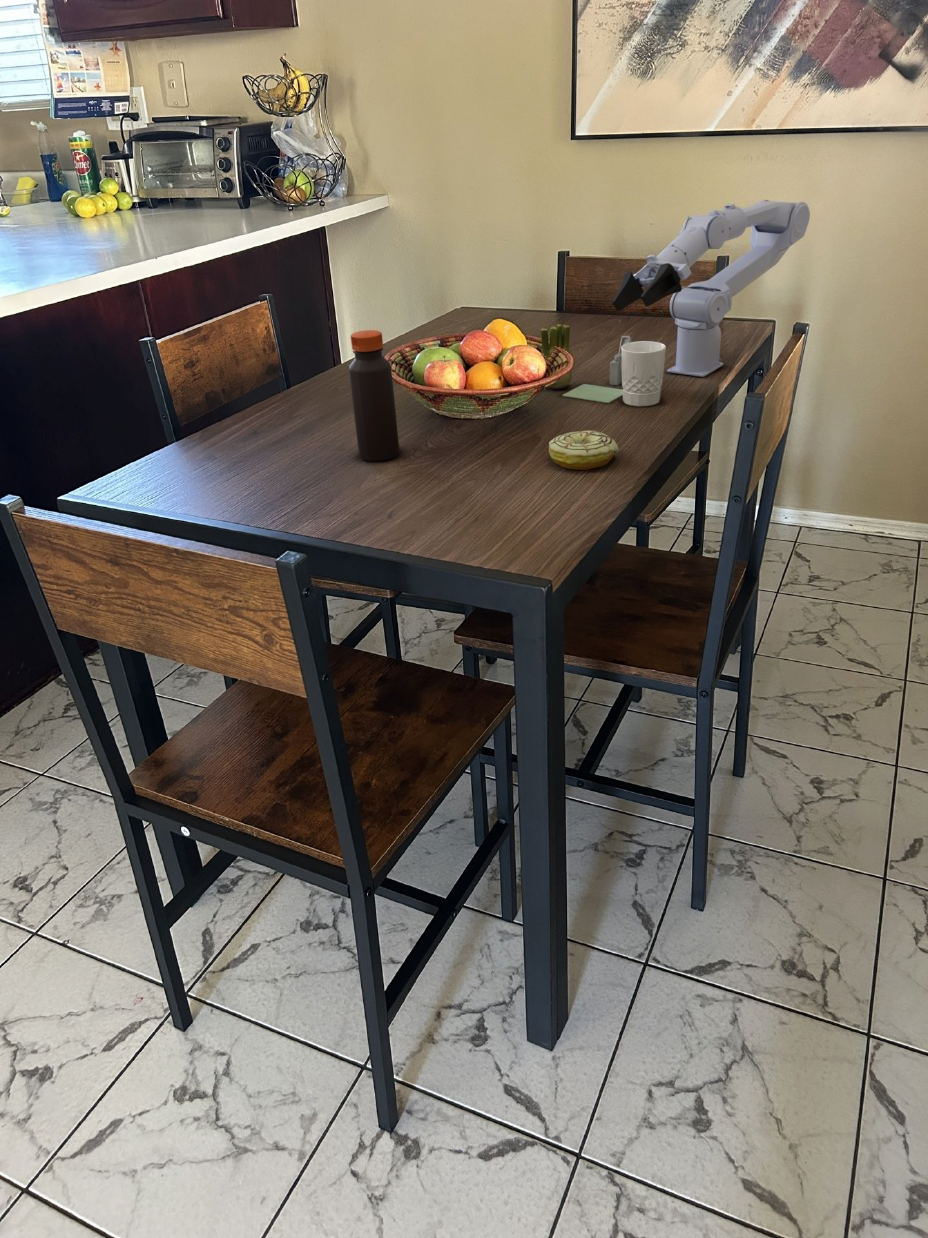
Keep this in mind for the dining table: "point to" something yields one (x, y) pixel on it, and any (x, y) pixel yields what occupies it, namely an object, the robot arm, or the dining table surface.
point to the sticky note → (595, 393)
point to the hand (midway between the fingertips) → (629, 304)
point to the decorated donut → (582, 449)
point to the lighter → (618, 363)
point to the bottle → (373, 398)
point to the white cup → (642, 372)
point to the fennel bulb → (558, 339)
